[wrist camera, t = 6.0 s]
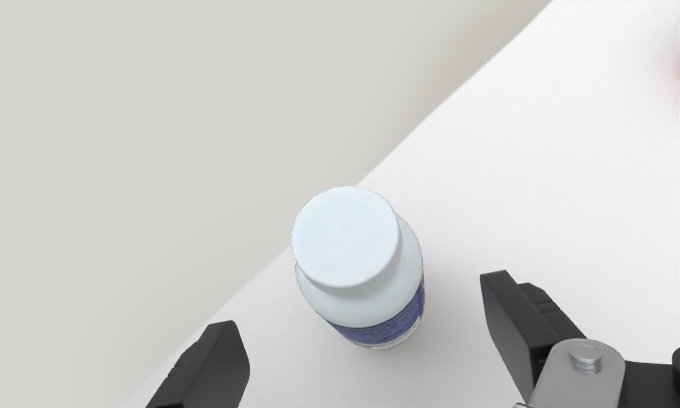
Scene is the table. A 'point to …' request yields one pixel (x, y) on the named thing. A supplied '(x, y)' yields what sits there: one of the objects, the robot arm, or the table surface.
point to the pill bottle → (359, 266)
